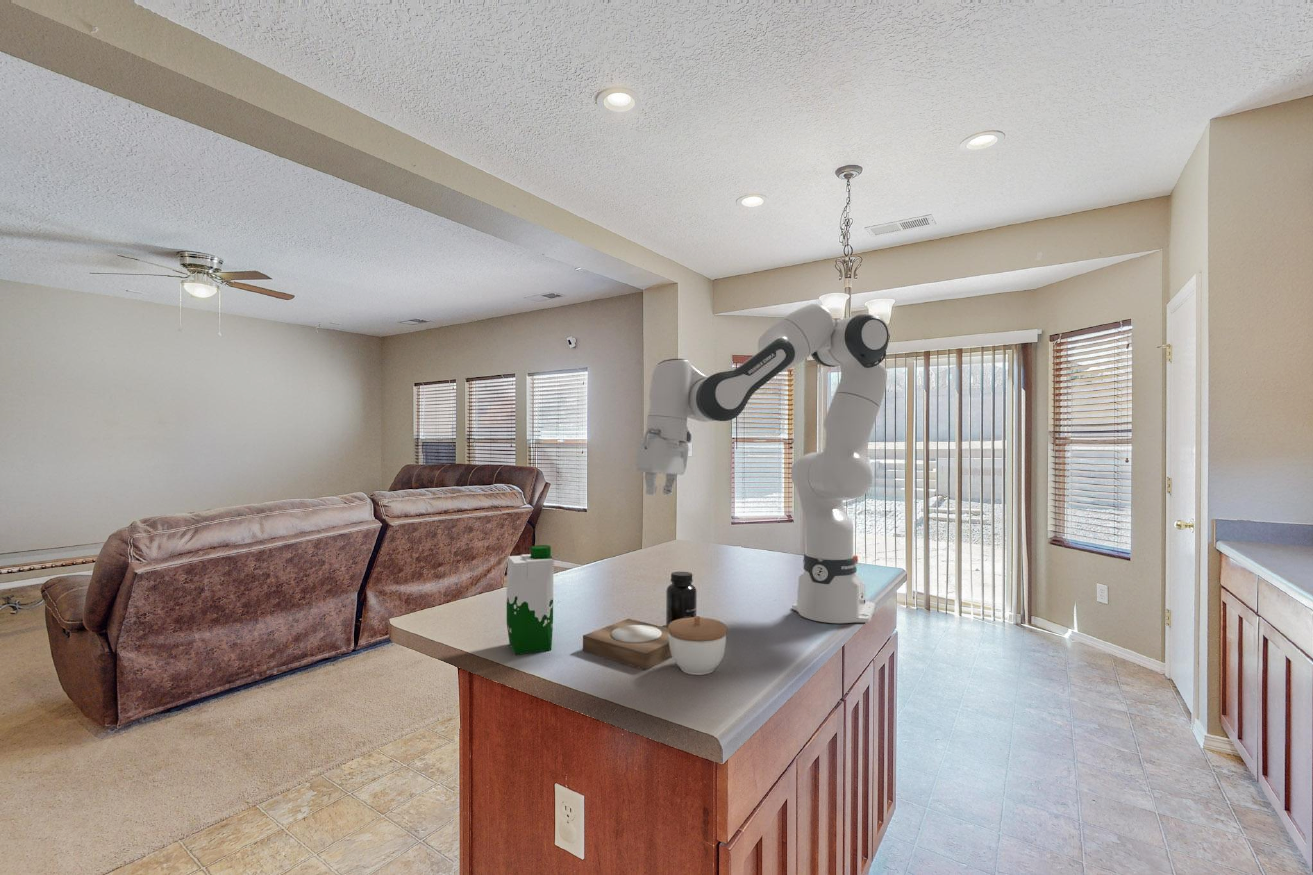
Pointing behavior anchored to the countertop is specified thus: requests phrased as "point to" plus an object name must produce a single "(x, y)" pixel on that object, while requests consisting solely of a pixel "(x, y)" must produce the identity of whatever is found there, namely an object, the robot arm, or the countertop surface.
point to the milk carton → (530, 600)
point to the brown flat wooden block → (630, 643)
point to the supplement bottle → (680, 597)
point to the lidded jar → (697, 644)
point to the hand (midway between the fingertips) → (659, 494)
